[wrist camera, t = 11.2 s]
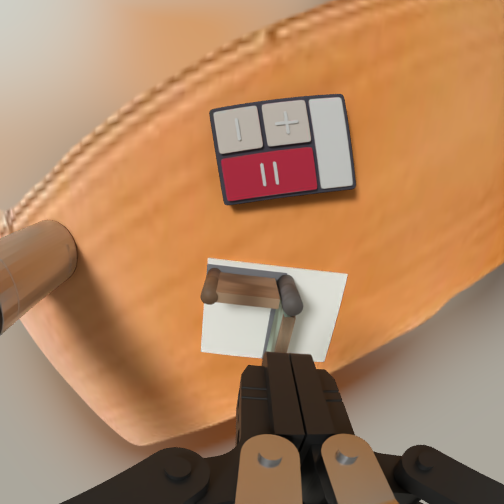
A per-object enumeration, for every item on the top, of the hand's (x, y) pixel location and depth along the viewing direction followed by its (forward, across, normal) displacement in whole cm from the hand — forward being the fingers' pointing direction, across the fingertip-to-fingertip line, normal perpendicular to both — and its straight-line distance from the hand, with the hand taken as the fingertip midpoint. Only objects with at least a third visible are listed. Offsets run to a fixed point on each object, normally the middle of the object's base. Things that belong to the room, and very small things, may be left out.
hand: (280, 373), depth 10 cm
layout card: (+29, -4, +13) cm, 32 cm away
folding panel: (+28, -5, +15) cm, 32 cm away
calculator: (+30, -2, -8) cm, 31 cm away
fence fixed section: (+29, -1, +8) cm, 30 cm away
